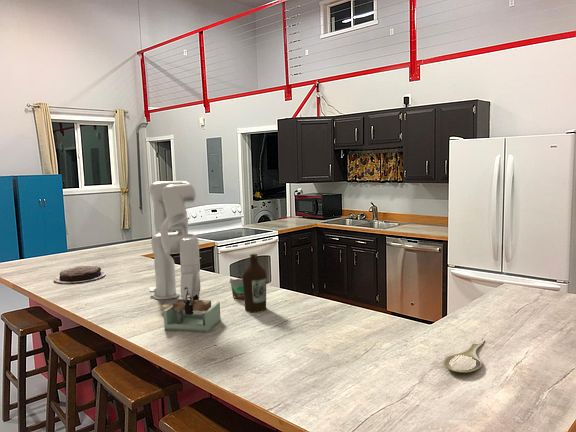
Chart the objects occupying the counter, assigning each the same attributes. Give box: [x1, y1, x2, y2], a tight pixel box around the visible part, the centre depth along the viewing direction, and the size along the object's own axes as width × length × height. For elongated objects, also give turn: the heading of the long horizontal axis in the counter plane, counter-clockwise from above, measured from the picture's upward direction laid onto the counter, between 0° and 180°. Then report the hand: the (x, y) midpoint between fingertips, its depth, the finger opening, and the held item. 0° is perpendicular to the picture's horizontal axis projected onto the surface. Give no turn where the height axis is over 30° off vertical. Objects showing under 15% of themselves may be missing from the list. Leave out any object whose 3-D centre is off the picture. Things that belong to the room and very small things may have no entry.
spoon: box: [443, 343, 484, 373], centre depth 155 cm, size 35×11×2 cm, turn 145°
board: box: [172, 298, 212, 312], centre depth 191 cm, size 14×6×3 cm, turn 79°
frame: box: [163, 301, 221, 334], centre depth 191 cm, size 18×14×8 cm
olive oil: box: [241, 253, 267, 313], centre depth 209 cm, size 11×11×25 cm
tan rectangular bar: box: [161, 303, 185, 316], centre depth 206 cm, size 10×3×4 cm, turn 79°
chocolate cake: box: [53, 265, 106, 285], centre depth 277 cm, size 28×28×7 cm
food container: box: [229, 277, 245, 301], centre depth 226 cm, size 12×6×10 cm, turn 105°
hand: (192, 311), depth 191 cm, fingers closed on board, 6 cm apart
